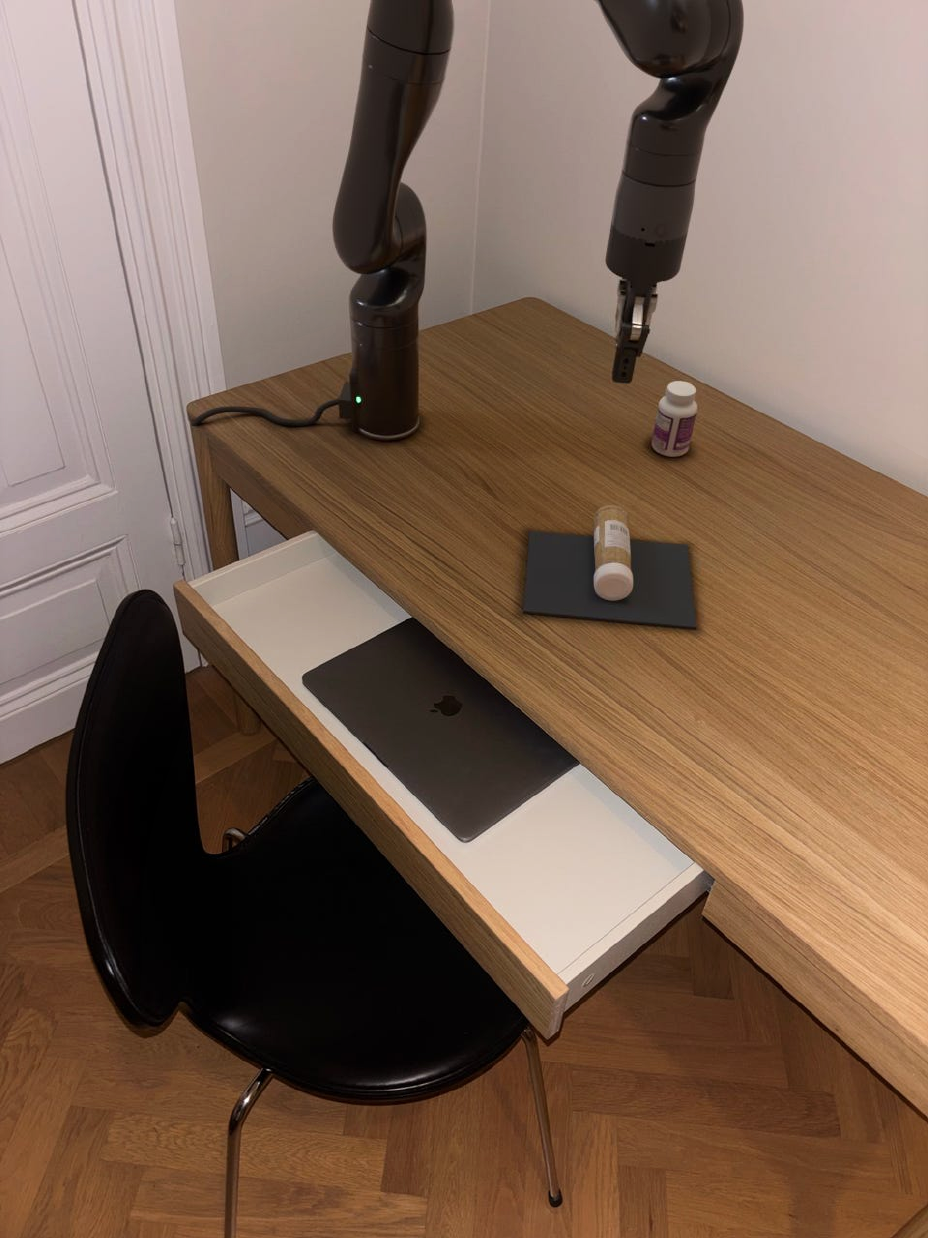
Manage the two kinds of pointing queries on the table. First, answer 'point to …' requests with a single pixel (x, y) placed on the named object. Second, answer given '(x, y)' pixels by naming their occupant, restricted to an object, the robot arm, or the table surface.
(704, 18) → the robot arm
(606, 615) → the mat
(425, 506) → the table surface
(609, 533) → the sprinkles bottle
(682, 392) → the pill bottle
